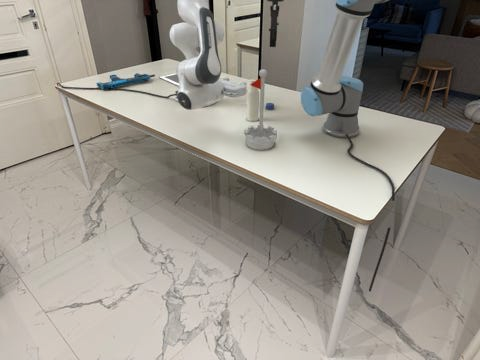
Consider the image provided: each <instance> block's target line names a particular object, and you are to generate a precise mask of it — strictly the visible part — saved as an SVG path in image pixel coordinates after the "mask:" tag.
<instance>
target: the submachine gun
mask: <svg viewBox="0 0 480 360" xmlns="http://www.w3.org/2000/svg"><path fill="white" fill-rule="evenodd" d="M154 77H156V74H147V73H142V74H141V73H139V72H137V73H135V74H133V77H128V78H121V77H119V76H118V75H117V74H110V75H109V79H111V81H107V82H96V83H95V84H96V87H97V88H101V89H100V90H102V91H103V90H104V91H105V90H106V89H108V88H114V89H115V88H116V89H117V88H120V87H122V86H127V85H133V84H138V83H142V82H148V81H149V80H150V79H151V78H154Z"/></svg>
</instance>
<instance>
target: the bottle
mask: <svg viewBox="0 0 480 360" xmlns="http://www.w3.org/2000/svg"><path fill="white" fill-rule="evenodd" d="M256 80H257V79H255V78H251V79H249V87H248V88H247V93H246V120H247V121H248V122H257V121H259V118H260V89H258V88H256V87H253V86H251V85H250V84H252V83H253V82H255V81H256Z"/></svg>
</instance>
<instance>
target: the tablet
mask: <svg viewBox="0 0 480 360" xmlns="http://www.w3.org/2000/svg"><path fill="white" fill-rule="evenodd" d="M158 78H159V79H161V80H163V81H165V82H168V83H170V84H172V85H174V86H177V87H179V79H178V77H177V72H175V73H172V74H167V75H162V76H159V77H158Z"/></svg>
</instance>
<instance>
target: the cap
mask: <svg viewBox="0 0 480 360" xmlns="http://www.w3.org/2000/svg"><path fill="white" fill-rule="evenodd" d="M265 109H266V110H267V111H273V110H274V109H275V104H274V103H273V102H266V104H265Z"/></svg>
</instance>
